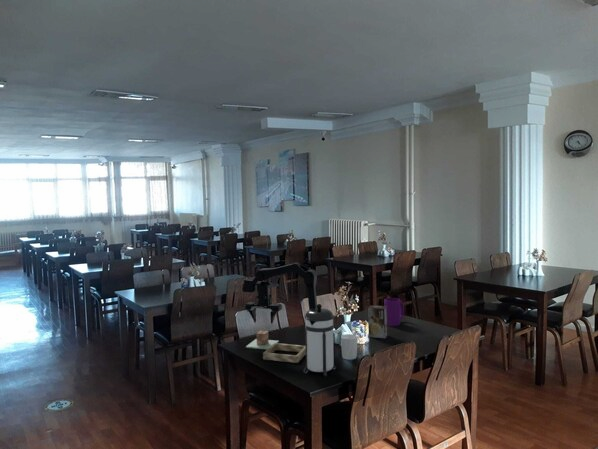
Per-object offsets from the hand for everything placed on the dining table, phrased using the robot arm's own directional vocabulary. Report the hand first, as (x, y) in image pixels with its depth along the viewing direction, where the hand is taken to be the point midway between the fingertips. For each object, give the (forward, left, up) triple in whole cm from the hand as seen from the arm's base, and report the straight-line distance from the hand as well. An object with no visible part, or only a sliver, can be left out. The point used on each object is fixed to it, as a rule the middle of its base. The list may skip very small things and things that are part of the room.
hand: (263, 323), depth 244 cm
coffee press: (-37, +26, -12) cm, 47 cm away
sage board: (+1, +1, -11) cm, 11 cm away
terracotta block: (+1, +1, -11) cm, 11 cm away
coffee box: (-54, -29, -12) cm, 63 cm away
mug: (-61, -57, -12) cm, 84 cm away
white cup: (-46, +7, -12) cm, 48 cm away
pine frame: (-16, +13, -11) cm, 23 cm away
